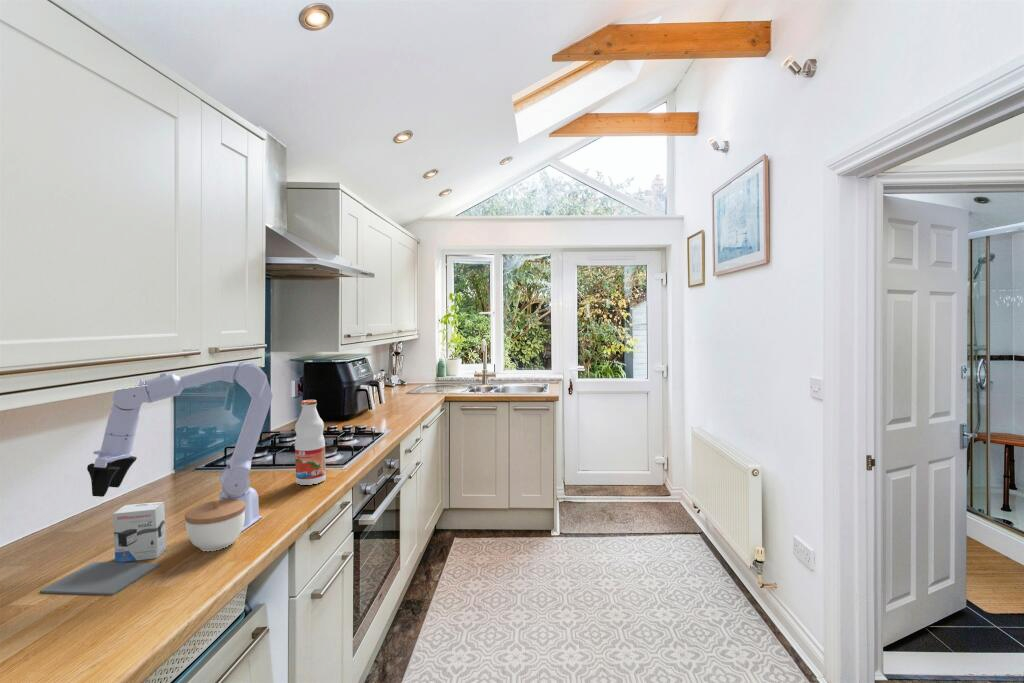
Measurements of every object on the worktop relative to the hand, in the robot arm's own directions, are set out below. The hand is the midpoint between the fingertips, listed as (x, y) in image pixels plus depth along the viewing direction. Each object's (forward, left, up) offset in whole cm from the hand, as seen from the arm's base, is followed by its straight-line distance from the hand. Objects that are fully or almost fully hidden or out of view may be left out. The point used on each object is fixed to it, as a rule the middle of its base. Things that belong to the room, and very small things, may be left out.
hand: (106, 491), depth 111 cm
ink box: (0, +8, -15) cm, 18 cm away
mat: (+10, +8, -15) cm, 20 cm away
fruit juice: (-51, +23, -15) cm, 58 cm away
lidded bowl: (-6, +23, -15) cm, 28 cm away
